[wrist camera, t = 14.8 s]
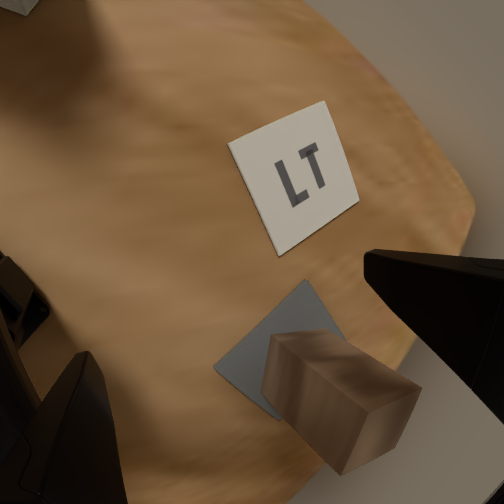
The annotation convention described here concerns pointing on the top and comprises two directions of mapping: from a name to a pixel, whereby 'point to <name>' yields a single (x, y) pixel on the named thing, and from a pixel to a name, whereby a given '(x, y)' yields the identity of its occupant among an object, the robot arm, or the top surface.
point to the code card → (295, 174)
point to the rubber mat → (257, 341)
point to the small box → (19, 5)
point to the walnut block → (337, 396)
